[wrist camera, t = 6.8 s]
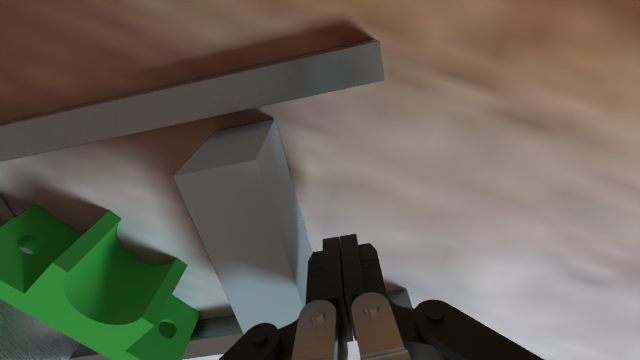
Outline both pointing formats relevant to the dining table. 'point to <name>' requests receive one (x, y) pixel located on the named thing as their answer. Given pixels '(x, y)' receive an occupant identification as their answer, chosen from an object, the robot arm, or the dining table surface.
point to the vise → (161, 111)
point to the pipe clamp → (94, 288)
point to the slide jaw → (249, 222)
